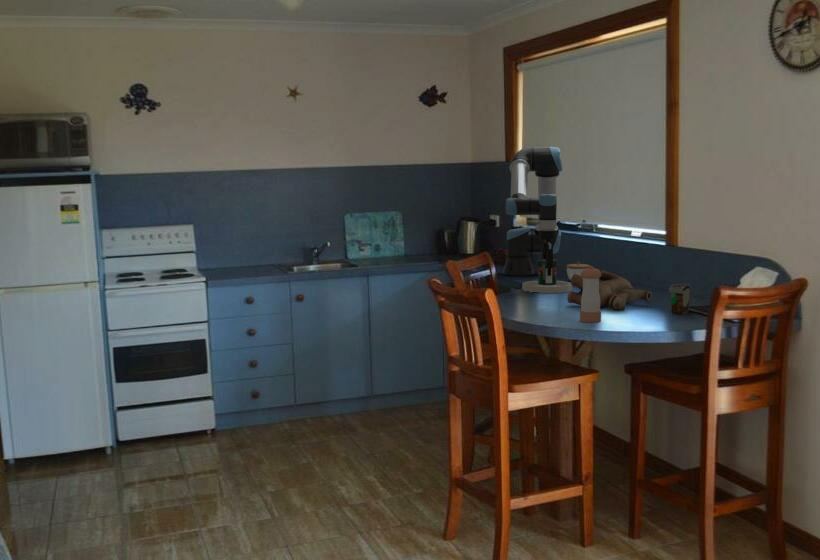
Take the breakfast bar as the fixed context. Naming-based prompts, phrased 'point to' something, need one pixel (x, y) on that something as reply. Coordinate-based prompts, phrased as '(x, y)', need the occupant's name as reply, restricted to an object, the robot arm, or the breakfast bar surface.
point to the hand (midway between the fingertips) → (547, 281)
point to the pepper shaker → (590, 296)
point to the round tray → (547, 287)
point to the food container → (680, 298)
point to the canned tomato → (543, 273)
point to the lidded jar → (575, 269)
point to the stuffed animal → (610, 291)
